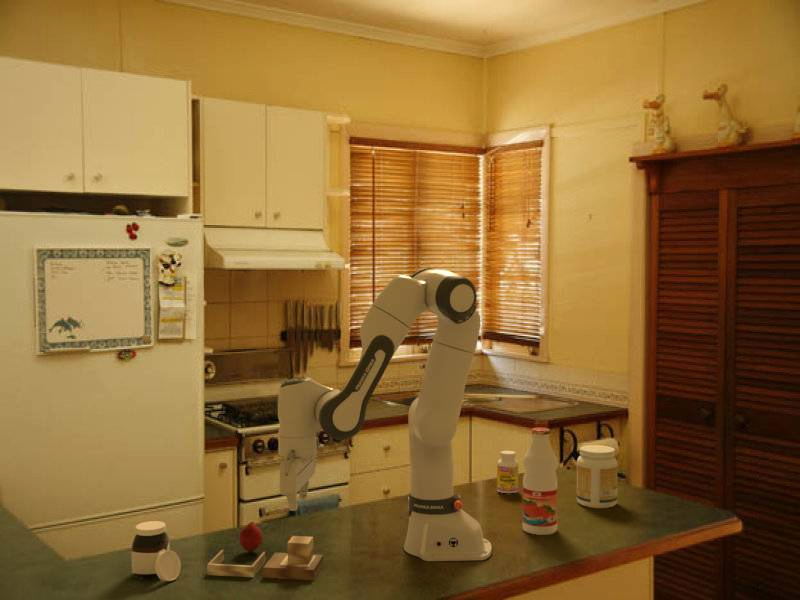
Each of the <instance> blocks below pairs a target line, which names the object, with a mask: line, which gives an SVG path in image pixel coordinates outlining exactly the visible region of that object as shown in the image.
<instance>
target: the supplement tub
mask: <svg viewBox="0 0 800 600" xmlns="http://www.w3.org/2000/svg"><path fill="white" fill-rule="evenodd" d="M615 451H616V450H615V448H614V447H611V446H607V445H601V444H600V445H599V444H589V445H583V446H580V447H579V456H578V457H577V460H576V500H577V503H578V504H579V505H581V506H583V507H586V506H587V507H586V508H592V509H609V507H610V508H612V507H614V506H616V504H618V467H619V466H618V465H619V463H618V460H617V459H616V457H615V456H616V453H615Z"/></svg>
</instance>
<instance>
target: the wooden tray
mask: <svg viewBox="0 0 800 600" xmlns="http://www.w3.org/2000/svg"><path fill="white" fill-rule="evenodd" d="M266 554H267V553H266V551H262V553H261V554H260V555H259V556H258V557H257V559H256V560H255V561H254V562H253V563H252V564H251V565H247V564H246V565H245V564H244V565H242V564H227V563H226V564H223V562H224V561H225V549H221V550H220V551H219V552H218V553H217V554H216V555H215V556H214V557H213V558H212V559H211V560H210V561H209V562H208V563H207V564H206V575H207V576H218V577H219V576H222V577H223V576H224V577H243V578H254V577H255V576H256V575H257V574H258V572H259V571H260V570H261V569H263V571H262V572H263V575H262V577H263V579H275V578H278V580H279V579H280V580H298V581H299V580H301V581H313V582H314V581H315V579H316V577H317V575H319V573H320V571H321V570H322V569H323V568H322V567H323V566H324V554H314V553H313V558H312V560H311V562H310V563H309V565H304V564H288V552H274V553H273V554H272V556H271V557H270V559H268V561H266V560H267V559H266V556H267V555H266Z"/></svg>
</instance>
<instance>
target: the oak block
mask: <svg viewBox="0 0 800 600" xmlns="http://www.w3.org/2000/svg"><path fill="white" fill-rule="evenodd" d="M287 553H288V564H304V565H309V563H310V562H311V560H312V558H313V554H314V537H313V536H304V535H303V536H301V535H300V536H299V535H292V536H291V537H290V539H289V540H288V541H287Z"/></svg>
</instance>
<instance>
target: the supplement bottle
mask: <svg viewBox="0 0 800 600" xmlns="http://www.w3.org/2000/svg"><path fill="white" fill-rule="evenodd" d="M500 457H501V458H500V459H499V460H498V461H497V464H496V465H497V467H496V471H497V474H496V491H497V493H499V492H501V493H500V494H502V493H515V494H517V493H518V491H519V462H518V460H517V459H516V452H515V451H514V450H502V451H500ZM516 492H517V493H516Z"/></svg>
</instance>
